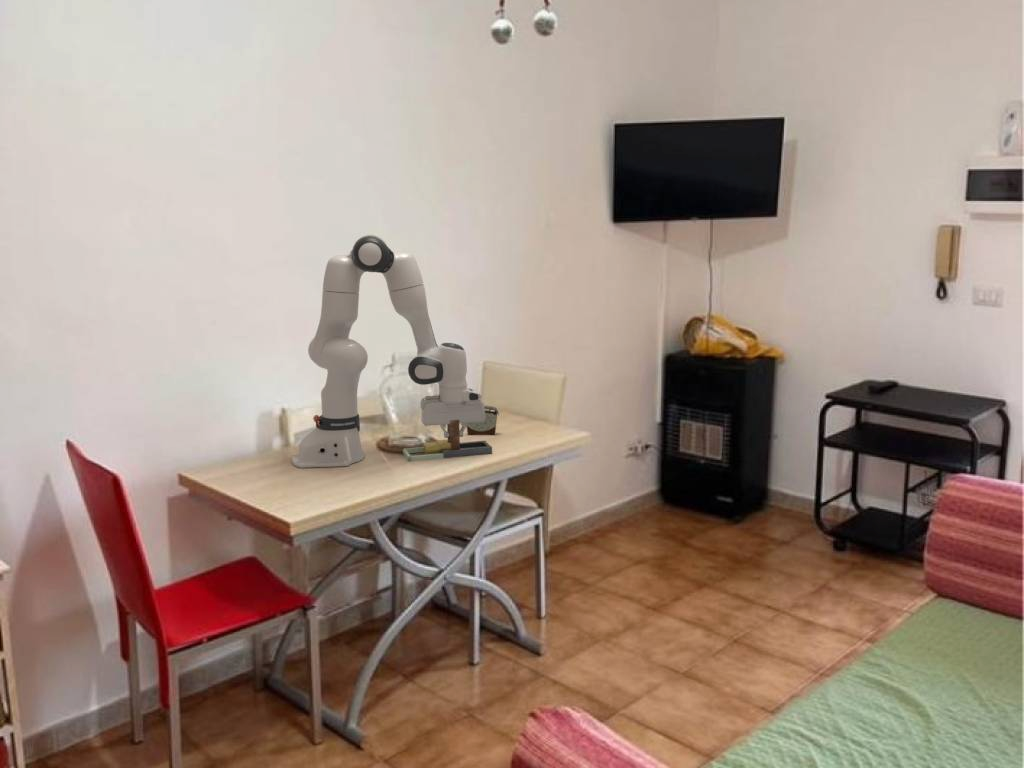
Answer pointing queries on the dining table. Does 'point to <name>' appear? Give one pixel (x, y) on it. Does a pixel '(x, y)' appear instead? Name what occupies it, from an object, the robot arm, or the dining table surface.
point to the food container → (484, 423)
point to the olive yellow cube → (443, 445)
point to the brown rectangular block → (454, 434)
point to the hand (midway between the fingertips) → (453, 437)
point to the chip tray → (420, 457)
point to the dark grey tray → (469, 449)
